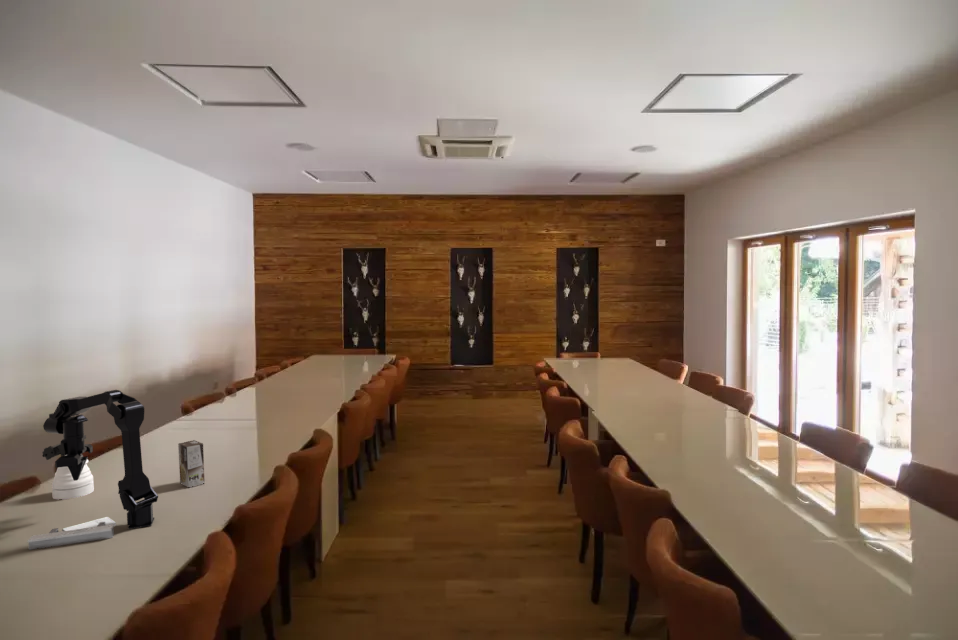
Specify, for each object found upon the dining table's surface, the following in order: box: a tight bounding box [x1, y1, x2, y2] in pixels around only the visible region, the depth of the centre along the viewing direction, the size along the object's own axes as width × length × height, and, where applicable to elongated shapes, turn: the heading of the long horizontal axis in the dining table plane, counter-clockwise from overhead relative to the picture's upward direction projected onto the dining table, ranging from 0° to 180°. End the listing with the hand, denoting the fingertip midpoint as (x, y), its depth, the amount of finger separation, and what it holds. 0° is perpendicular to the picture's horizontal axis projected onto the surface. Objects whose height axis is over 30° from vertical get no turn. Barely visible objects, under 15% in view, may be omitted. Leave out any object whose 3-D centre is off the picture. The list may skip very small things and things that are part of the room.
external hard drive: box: [61, 516, 117, 532], centre depth 181 cm, size 2×8×12 cm
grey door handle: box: [27, 522, 115, 551], centre depth 174 cm, size 21×9×3 cm, turn 111°
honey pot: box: [51, 455, 95, 500], centre depth 214 cm, size 13×13×18 cm
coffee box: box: [177, 439, 205, 488], centre depth 223 cm, size 9×6×16 cm
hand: (76, 480), depth 192 cm, fingers closed
